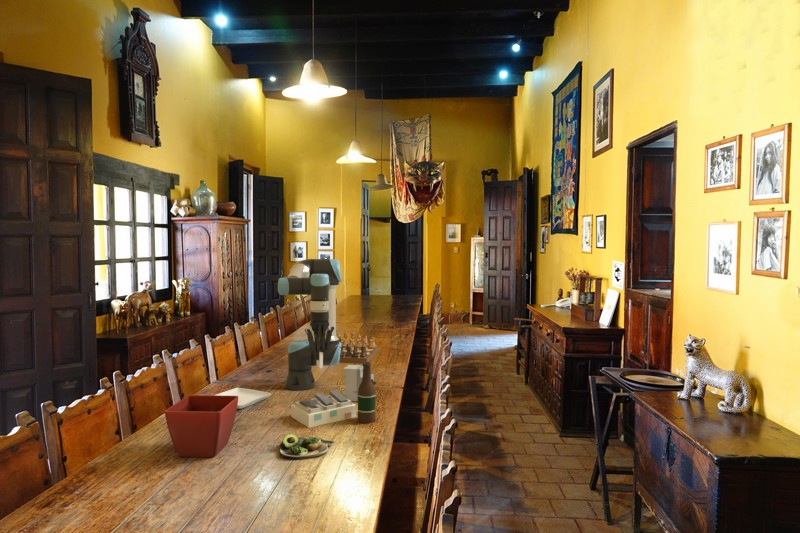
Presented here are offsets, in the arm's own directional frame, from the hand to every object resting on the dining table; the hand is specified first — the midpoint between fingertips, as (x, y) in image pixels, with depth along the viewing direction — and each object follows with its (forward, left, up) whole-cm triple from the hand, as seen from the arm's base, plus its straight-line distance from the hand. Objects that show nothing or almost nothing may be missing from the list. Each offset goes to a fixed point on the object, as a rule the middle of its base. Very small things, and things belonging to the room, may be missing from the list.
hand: (319, 367), depth 217 cm
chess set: (-98, +70, -22) cm, 122 cm away
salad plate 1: (-41, -19, -22) cm, 50 cm away
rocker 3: (0, +9, -15) cm, 17 cm away
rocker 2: (0, +2, -15) cm, 15 cm away
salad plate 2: (+26, -21, -22) cm, 40 cm away
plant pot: (+6, -49, -21) cm, 54 cm away
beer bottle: (+14, +14, -21) cm, 29 cm away
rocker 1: (0, -5, -15) cm, 15 cm away
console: (0, +2, -21) cm, 21 cm away
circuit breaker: (-12, +28, -21) cm, 37 cm away
